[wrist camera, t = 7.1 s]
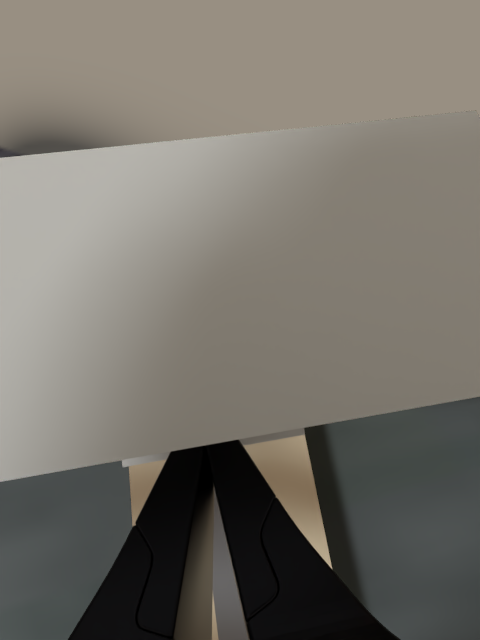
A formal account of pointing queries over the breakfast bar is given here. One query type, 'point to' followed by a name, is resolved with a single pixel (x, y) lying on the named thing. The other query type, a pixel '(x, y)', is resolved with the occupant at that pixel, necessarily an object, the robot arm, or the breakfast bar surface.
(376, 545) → the breakfast bar surface
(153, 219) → the fader tab
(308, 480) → the fader console
